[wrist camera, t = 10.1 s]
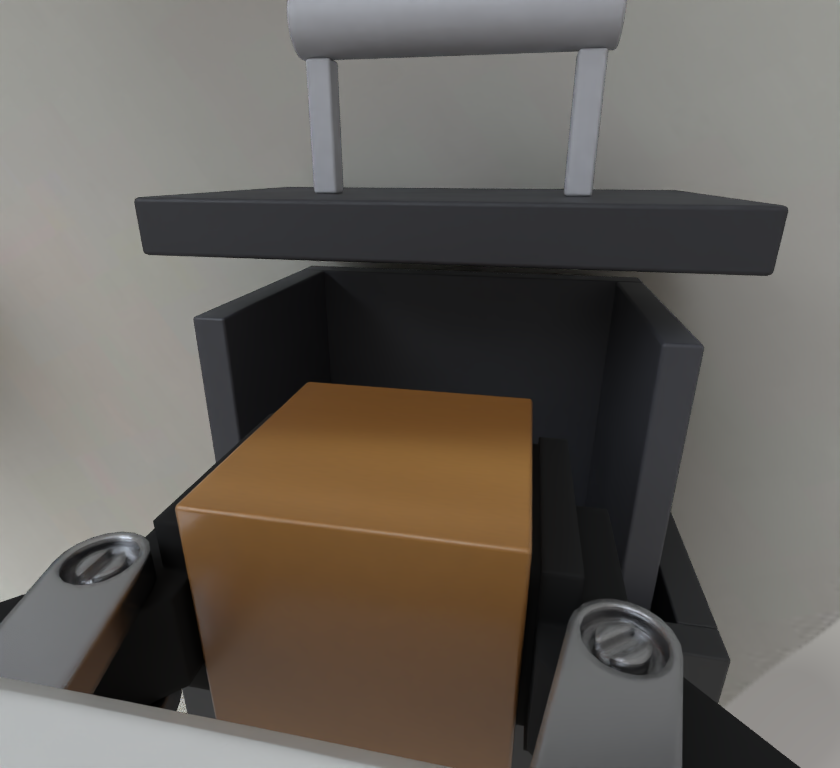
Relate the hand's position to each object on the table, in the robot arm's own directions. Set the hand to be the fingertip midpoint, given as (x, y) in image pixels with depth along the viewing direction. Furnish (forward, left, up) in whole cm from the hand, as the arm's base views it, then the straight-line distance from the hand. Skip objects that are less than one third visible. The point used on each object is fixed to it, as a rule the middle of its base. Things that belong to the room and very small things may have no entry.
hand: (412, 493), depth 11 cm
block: (0, 0, 0) cm, 0 cm away
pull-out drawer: (0, 0, -9) cm, 9 cm away
